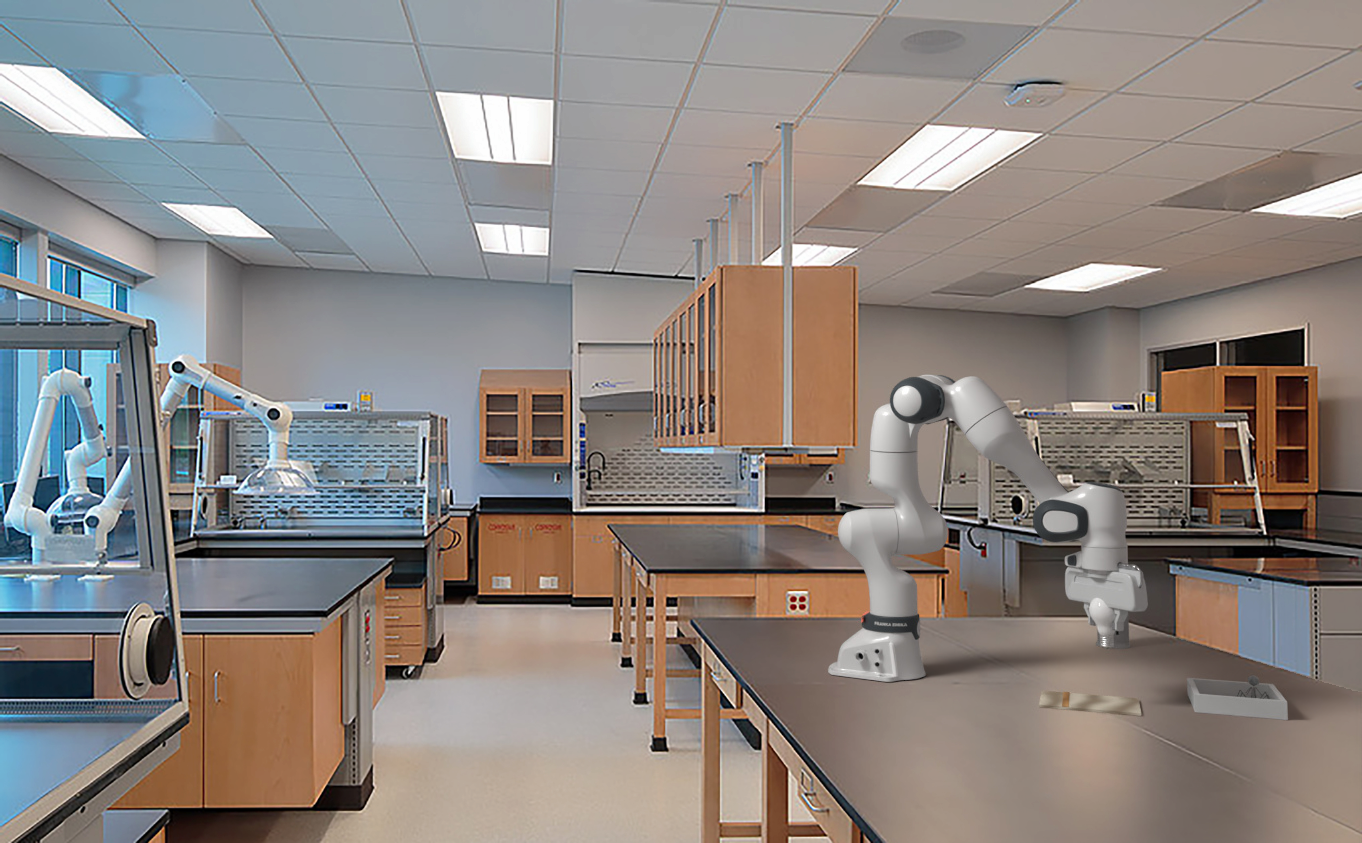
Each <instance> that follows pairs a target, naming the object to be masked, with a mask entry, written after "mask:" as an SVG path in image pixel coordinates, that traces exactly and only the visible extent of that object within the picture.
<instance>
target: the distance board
mask: <svg viewBox="0 0 1362 843" xmlns="http://www.w3.org/2000/svg"><path fill="white" fill-rule="evenodd" d="M1038 707H1039V708H1046V709H1057V710H1058V709H1059V710H1069V711H1078V712H1079V711H1080V712H1092V713H1101V714H1103V713H1105V714H1114V715H1116V714H1117V715H1125V716H1127V715H1128V716H1137V717H1138V716H1139V717H1141V716H1142V710H1141V705H1140V700H1139V698H1138V697H1124V696H1115V695H1102V694H1101V695H1100V694H1090V693H1089V694H1087V693H1076V692H1075V693H1074V692H1069V691H1063V692H1062V691H1052V690H1051V691H1049V690H1041V694H1040V698H1039V702H1038Z"/></svg>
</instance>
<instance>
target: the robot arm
mask: <svg viewBox="0 0 1362 843" xmlns="http://www.w3.org/2000/svg"><path fill="white" fill-rule="evenodd" d="M889 396H890V397H889V403H886V404H884V405H881V406H879V407H878V408H877V409H875V412H874V414H873V418H872V422H871V423H872V424H871V428H870V429H871V430H870V439H869V481H870V483H871V485H872V486H873V487H874V488H875V489H876V490H878V491H879V492H881V493H882V494H885V495H887V496H889V497H891V498H892V499H893V502H894V507H891V508H890V507H887V508H861V509H855V510H851V511H848V512H846V513H845V514H844V515H843V516H842V517H841V519H840V521H839V523H838V527H837V536H838V540H839V542H840V545H841V546H842V548H843V549H844V550H845V551H846V552H848V553H849V554H850V555H851V556H852V557H854V558H855V559H856V561H857V562H858V563H859V564H860V566H861V567H862V570H864V573H865V576H866V579H867V584H868V593H869V594H868V595H869V610H868V611H865V612H864V613H863V614H862V616H861V618H860V620H861V621H860V623H861V627H862V628H861V629H859V630H858V631H857V632H855V633H854V634H853V635H851V636H850V637H849V638H848V639H846V640H845V641H844V642H843V643H842V644H841V646H840V648H839V650H838V655H837V661H835V662H833V663H831V664H830V665H829V666H828V668H827V671H828V674H829V675H832V676H838V677H845V678H846V677H847V678H852V679H853V678H854V679H862V680H872V681H879V682H883V683H885V682H887V683H893V682H897V681H904V680H905V681H907V680H909V681H910V680H917V679H920V678H922V677H923V678H924V677H925V676H926V671H925V667H924V664H923V659H922V655H921V646H920V638H921V619H920V614H919V613H918V610H919V609H918V584H917V581H916V580H915V578H914V577H913V576H912V575H911V574H909V573H908V572H906V571H905V570H902V569H901V568H898V567H896V566H894V564H893V562H892V561H893V560H892V556H894V555H904V556H905V555H907V556H908V555H911V556H912V555H924V554H930V553H933V552H938V551H940V550H941V549H943V547H944V546H945V544H946V542H947V540H948V535H949V529H948V525H947V520H946V519H945V517H944V516H943V515H942V513H940V511H938V510H936V509H935V508H934V507H933V506H932V505H931V504H930V503H929V502H928V501H927V499H926V498H925V496H924V493H923V491H922V489H921V487H920V480H919V468H918V439H919V438H918V436H919V432H920V429H921V428H922V427H923V425H931V424H934V423H938V422H942V421H945V420H947V419H948V420H949V419H950V420H952V421H953V422H954V423H956V425H957V426H958V427H959V429H960V430H961V431H962V433H963V435H964V436H965V437H966V439H967V440H968V441H969V442H970V444H971V445H972V446H973V447H974V449H975V450H976V451H978V453H980V454H981V455H982V456H983V457H984V458H985V459H986V460H988V461H991V462H994V463H995V464H998V465H1000V466H1002V467H1004V468H1006V469H1008V471H1011V472H1012V473H1013V474H1015V475H1016V476H1017V477H1018V479H1019V480H1020V482H1022V483H1023V485H1024V486H1025V487H1026V489H1027V490H1028V491H1029V492H1030V494H1031V495H1032V496H1033V497H1034V499H1035V500H1036V501H1037V502H1038V503H1039V504H1038V505H1037V507H1036V508H1035V509H1034V511H1033V514H1032V525H1033V528H1034V531H1035V532H1036V534H1037V535H1038V536H1039V537H1040V538H1041V539H1043V540H1045V541H1047V542H1050V543H1053V544H1064V543H1069V542H1070V543H1073V542H1080V543H1081V546H1080V549H1081V550H1079V551H1076V552H1074V553H1072V554H1068V555H1066V556H1065V557H1064V565H1065V566H1067V568H1066V569H1065V573H1064V587H1065V595H1066V597H1067V598H1068V600H1070V601H1075V602H1080V603H1083V609H1084V611H1085V613H1086V615H1087V618H1088V620H1087V622H1088V625H1089V626H1094V627H1097V626H1096V624H1095V622H1094V621H1093V619H1092V618H1091V616H1090V613H1089V605H1090V603H1091V601H1092V600H1093V599H1095V598H1100V599H1101V600H1103V602H1104V603H1105V604H1106V606H1107V607H1110V608H1115V614H1117V616H1116V618H1115V621H1111V622H1112V630H1115V631H1123V630H1124V621H1125V619H1126V617H1127V615H1128V612H1133V613H1136V612H1137V613H1139V612H1140V613H1141V612H1145V611H1146V610H1147V608H1148V607H1149V603H1148V593H1147V585H1146V580H1145V577H1144V572H1143V571H1142V570H1141V568H1140V567H1139V566H1138V565H1136V564H1129V562H1128V561H1129V560H1128V558H1129V557H1128V555H1129V553H1128V542H1127V540H1126V539H1127V538H1126V531H1127V527H1128V516H1127V514H1128V513H1127V503H1126V499H1125V498H1126V497H1125V494H1124V493H1123V490H1121V488H1120V487H1118V486H1116V485H1114V484H1110V483H1104V482H1097V481H1086V482H1084V483H1083V484H1081V485H1080V486H1079V487H1077V488H1075V489H1073V490H1071V491H1069V490H1068V489H1067V488H1065V486H1063V485H1062V483H1061V482H1060V480H1058V478H1057V477H1056V476H1055V475H1054V472H1052V471H1051V469H1050V468H1049V467H1048V466H1047V464H1045V462H1044V461H1043V460H1042V458H1041V457H1040V456H1039V454H1038V453H1037V452H1036V450H1035V448H1034V446H1033V445H1032V444H1031V442H1030V440H1029V438H1028V436H1027V434H1026V433H1025V432H1024V429H1023V428H1022V427H1021V425H1020V422H1019V421H1018V420H1017V417H1015V415H1014V414H1013V412H1012V410H1011V409H1010V408H1009V407H1008V405H1007V404H1006V403H1005V401H1004V400H1003V399H1002V398H1001V396H1000V395H999V394H998V393H997V392H996V391H995V390H994V389H993V388H992V387H991V386H990V385H989V384H988V383H987V382H985V381H984V380H983V379H982V378H980V377H979V376H974V375H972V376H971V375H970V376H966V377H965V376H964V377H962V378H960V379H958V380H957V381H956V380H954V379H953V378H951V377H949V376H946V375H942V374H941V375H940V374H937V375H936V374H922V375H919V376H911V377H906V378H905V379H902V380H901V381H899V382H898V383H897V384H896V385H894V387H893V388H892V390H891V393H890V395H889Z"/></svg>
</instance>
